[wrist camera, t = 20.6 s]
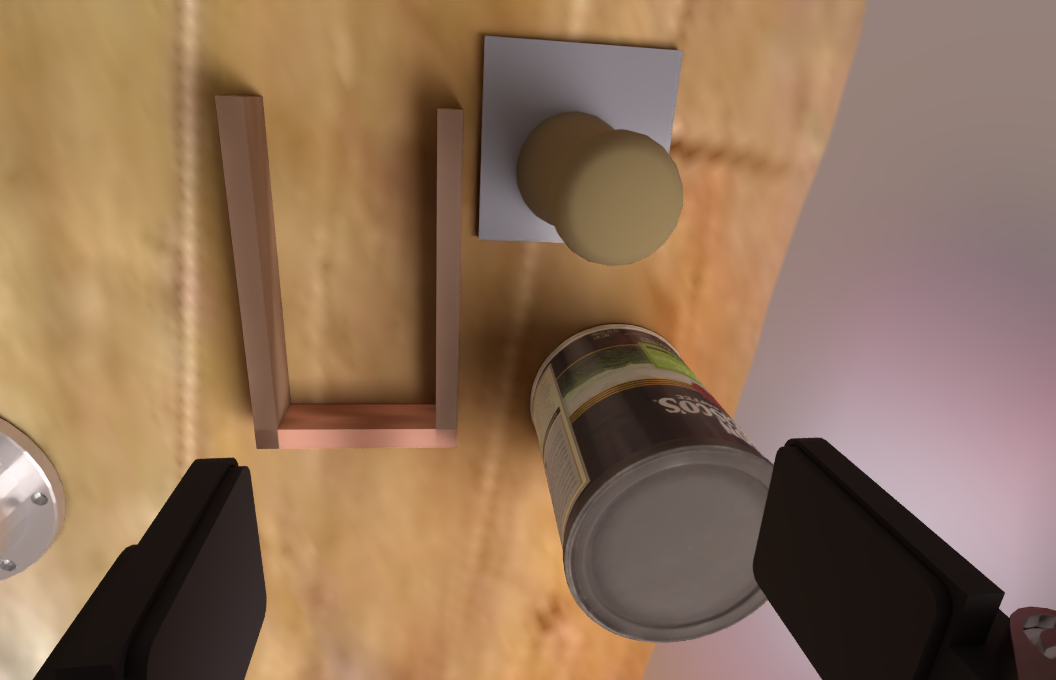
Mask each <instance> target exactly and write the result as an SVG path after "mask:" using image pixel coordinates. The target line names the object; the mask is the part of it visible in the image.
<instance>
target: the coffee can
mask: <svg viewBox="0 0 1056 680" xmlns="http://www.w3.org/2000/svg"><path fill="white" fill-rule="evenodd" d="M530 409H531V417H532V421H533V424H534V427H535V429H536V433H537V437H538V441H539V446H540V450H541V455H542V459H543V463H544V468H545V473H546V477H547V482H548V486H549V490H550V495H551V499H552V504H553V508H554V513H555V518H556V522H557V526H558V531H559V535H560V540H561V544H562V549H563V563H564V571H565V575H566V580H567V584H568V586H569V589H570V591H571V594H572V596H573V597H574V599H575V601H576V603H577V604H578V605H579V607H580V608H581V609H582V610H583V611H584V613H585V614H586V615H587V616H588V617H590V618H591V619H592V620H593V621H594V622H596V623H597V624H599V625H600V626H601V627H603V628H605V629H606V630H608V631H610V632H612V633H614V634H617V635H620V636H622V637H625V638H629V639H633V640H638V641H644V642H654V643H668V642H678V641H686V640H691V639H696V638H700V637H703V636H706V635H709V634H713V633H715V632H718V631H720V630H723V629H725V628H728V627H730V626H732V625H734V624H736V623H738V622H739V621H741V620H742V619H744V618H746V617H747V616H749V615H750V614H752V613H753V612H754V611H756V610H757V609H758V608H759V607H761V606H762V605H763V604H764V603H765V602H766V601H767V600H768V599H767V598H766V596H765V595H764V593H763V592H762V590H761V589H760V587H759V586H758V584H757V582H756V580H755V578H754V574H753V559H754V554H755V550H756V545H757V540H758V536H759V531H760V527H761V522H762V517H763V513H764V508H765V504H766V499H767V494H768V490H769V485H770V481H771V476H772V471H773V467H774V465H773V464H772V463H771V462H770V461H769V460H768V459H766V458H765V457H764V456H763V455H762V454H761V453H760V452H759V451H758V449H757V448H756V447H755V446H754V445H753V443H752V442H751V441H750V440H749V439H748V437H747V436H746V435H745V434H744V433H743V432H742V430H741V429H740V428H739V427H738V426H737V424H736V423H735V422H734V421H733V420H732V419H731V417H730V416H729V415H728V414H727V413H726V412H725V410H724V409H723V408H722V407H721V406H720V404H719V403H718V402H717V401H716V400H715V399H714V397H713V396H712V395H711V394H710V393H709V392H708V390H707V389H706V388H705V387H704V386H703V384H702V383H701V382H700V381H699V380H698V379H697V377H696V376H695V375H694V374H693V372H692V371H691V370H690V369H689V368H688V366H687V365H686V364H685V363H684V362H683V360H682V359H681V357H680V356H679V354H678V352H677V351H676V350H675V349H674V348H673V346H672V345H671V344H669V343H668V342H667V341H666V340H665V339H664V338H663V337H661V336H660V335H658V334H656V333H654V332H652V331H650V330H648V329H645V328H642V327H638V326H634V325H627V324H607V325H600V326H596V327H593V328H590V329H587V330H584V331H582V332H579V333H577V334H575V335H574V336H572V337H570V338H569V339H567V340H565V341H564V342H563V343H562V344H560V345H559V346H558V347H557V348H556V349H555V350H554V351H553V352H552V353H551V354H550V355H549V356H548V357H547V358H546V360H545V361H544V362H543V364H542V365H541V367H540V369H539V371H538V373H537V375H536V377H535V380H534V383H533V386H532V391H531V399H530Z"/></svg>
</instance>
